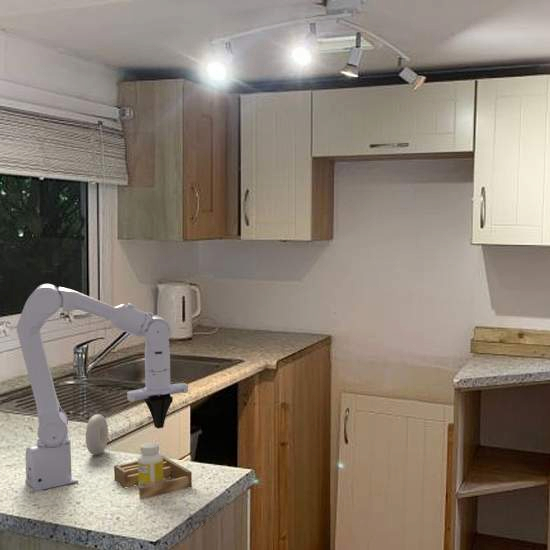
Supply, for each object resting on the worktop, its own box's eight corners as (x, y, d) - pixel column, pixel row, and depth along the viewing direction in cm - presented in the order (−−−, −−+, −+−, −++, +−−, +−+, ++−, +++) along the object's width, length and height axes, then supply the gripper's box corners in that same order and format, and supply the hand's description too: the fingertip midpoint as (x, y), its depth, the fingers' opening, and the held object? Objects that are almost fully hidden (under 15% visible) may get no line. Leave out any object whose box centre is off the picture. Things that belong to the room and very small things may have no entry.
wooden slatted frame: (141, 499, 157) (140, 483, 156) (114, 480, 168) (114, 465, 168) (191, 487, 163) (191, 471, 163) (162, 469, 175) (162, 455, 175)
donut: (97, 447, 192) (96, 409, 191) (110, 448, 192) (109, 409, 191) (84, 460, 182) (82, 420, 181) (97, 460, 182) (96, 420, 181)
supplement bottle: (162, 483, 166) (161, 440, 165) (165, 492, 160) (164, 447, 160) (137, 486, 164) (136, 442, 164) (139, 495, 159) (138, 450, 158)
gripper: (135, 376, 165) (137, 436, 166) (193, 368, 173) (194, 425, 174) (122, 370, 170) (124, 429, 171) (179, 363, 179) (180, 419, 180)
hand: (158, 427), depth 173 cm, fingers closed
